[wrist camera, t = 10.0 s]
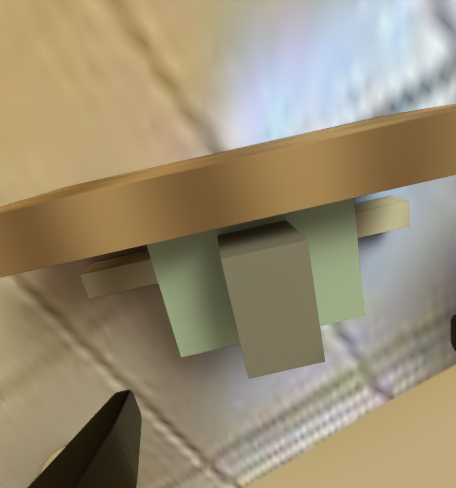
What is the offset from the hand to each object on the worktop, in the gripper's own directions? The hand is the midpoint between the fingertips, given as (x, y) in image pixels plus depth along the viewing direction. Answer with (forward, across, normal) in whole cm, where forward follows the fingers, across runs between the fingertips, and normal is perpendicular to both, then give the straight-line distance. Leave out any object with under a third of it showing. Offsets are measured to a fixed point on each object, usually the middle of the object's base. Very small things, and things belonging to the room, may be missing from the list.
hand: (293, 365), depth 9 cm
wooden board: (+13, 0, -2) cm, 13 cm away
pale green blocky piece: (+13, 0, 0) cm, 13 cm away
